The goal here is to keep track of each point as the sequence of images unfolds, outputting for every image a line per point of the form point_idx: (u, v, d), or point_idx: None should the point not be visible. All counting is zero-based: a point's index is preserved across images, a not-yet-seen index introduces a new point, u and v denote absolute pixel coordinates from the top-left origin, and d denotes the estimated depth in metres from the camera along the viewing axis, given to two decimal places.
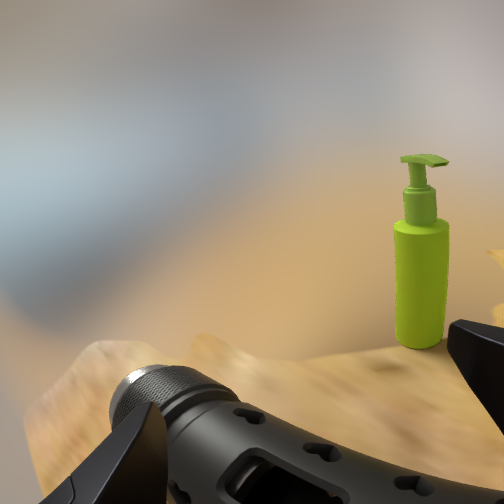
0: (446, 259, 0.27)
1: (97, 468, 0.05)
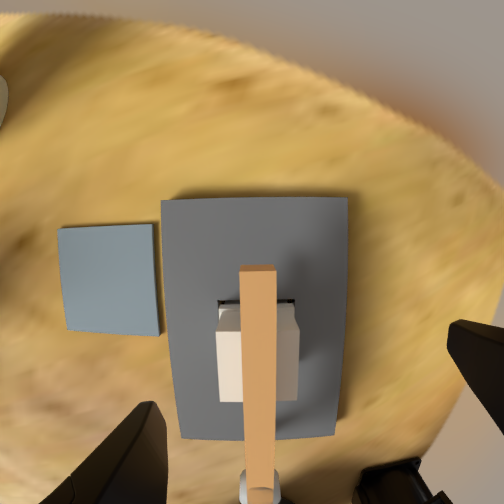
0: None
1: (97, 468, 0.05)
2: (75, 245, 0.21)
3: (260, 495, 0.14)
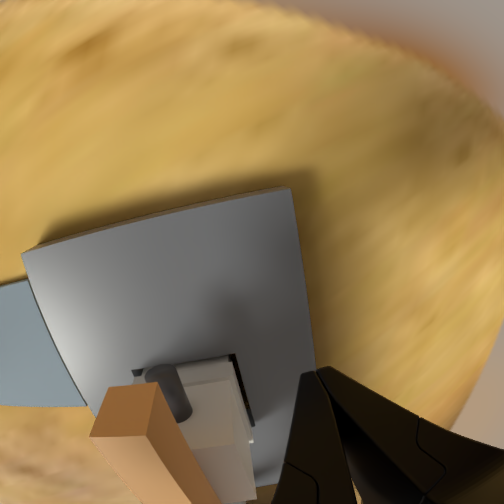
0: None
1: (316, 443, 0.05)
2: None
3: None
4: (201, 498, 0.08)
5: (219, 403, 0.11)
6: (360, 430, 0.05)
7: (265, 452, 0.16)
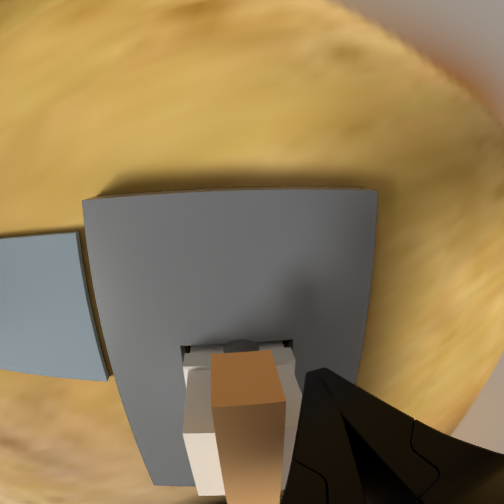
0: None
1: (323, 440, 0.05)
2: None
3: None
4: None
5: (286, 385, 0.11)
6: (354, 432, 0.05)
7: None
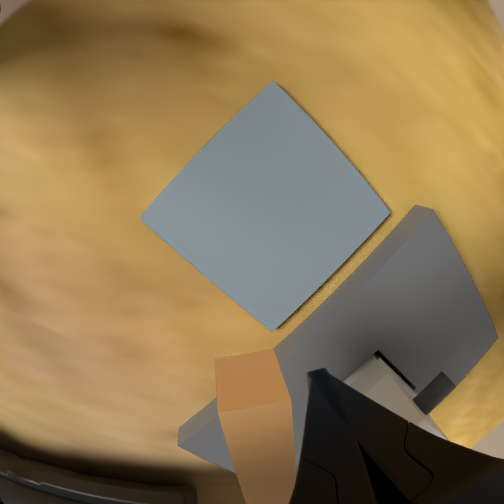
0: None
1: (331, 438, 0.05)
2: (280, 129, 0.13)
3: None
4: None
5: (428, 415, 0.13)
6: (348, 434, 0.05)
7: None
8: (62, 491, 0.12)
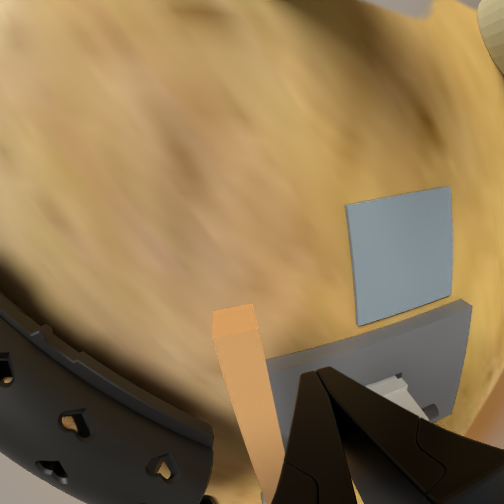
0: None
1: (316, 443, 0.05)
2: (438, 214, 0.19)
3: None
4: None
5: None
6: (360, 430, 0.05)
7: None
8: (97, 379, 0.15)
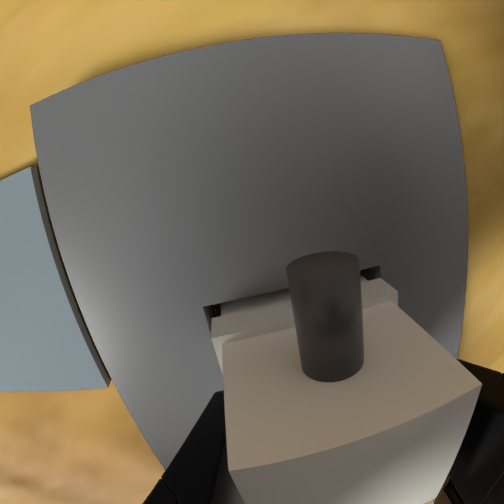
0: None
1: (194, 465, 0.05)
2: None
3: None
4: None
5: (402, 332, 0.06)
6: None
7: None
8: None
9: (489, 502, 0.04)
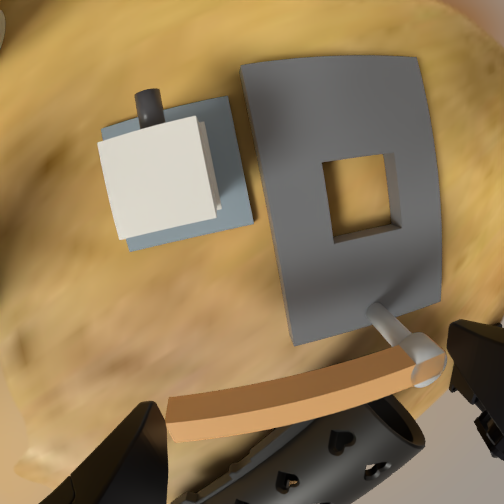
0: None
1: (97, 468, 0.05)
2: None
3: (424, 370, 0.14)
4: (250, 401, 0.14)
5: None
6: None
7: (405, 263, 0.20)
8: (266, 452, 0.20)
9: None
